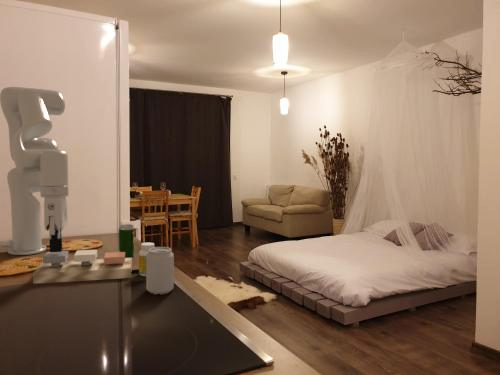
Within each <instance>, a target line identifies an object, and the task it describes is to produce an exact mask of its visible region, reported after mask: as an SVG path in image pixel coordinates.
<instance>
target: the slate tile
mask: <svg viewBox="0 0 500 375" xmlns="http://www.w3.org/2000/svg"><path fill="white" fill-rule="evenodd" d="M68 258H69V250H62V251H61V252H50V251H46V253H44V255H43V256H42V262H43V263H51V267H60V266H61V263H63V262H66V261H68Z"/></svg>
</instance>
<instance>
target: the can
mask: <svg viewBox="0 0 500 375" xmlns="http://www.w3.org/2000/svg"><path fill="white" fill-rule="evenodd" d="M174 255H175V254H174V252H172V248H171V247H167V246H154V248H151V249H149V253H148V254H147V255H146V276H145V277H146V279H145V280H146V285H145V287H146V291H147V292H149V293H150V294H151V293H153V294H152V295H157V294H160V295H165V294H169V293H170V292H172V290H173V289H174V287H175V286H174V282H175V280H174V276H175V275H174V273H175V271H174V265H175V261H174V260H175V259H174V258H175V256H174Z"/></svg>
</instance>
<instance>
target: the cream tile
mask: <svg viewBox="0 0 500 375" xmlns="http://www.w3.org/2000/svg"><path fill="white" fill-rule="evenodd" d="M97 257H98V249H82V250H80V249H79V250H76V251H75V253H74V254H73V260H74V262H81V264H82V265H90V264H91V261H96V259H97Z"/></svg>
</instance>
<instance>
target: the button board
mask: <svg viewBox="0 0 500 375" xmlns="http://www.w3.org/2000/svg"><path fill="white" fill-rule="evenodd" d="M132 268H133V259H132V258H125V263H119V265H111V264H104V258H98V259H97V258H96V261H91V264H90V265H82V264H81V262H74V259H73V260H66V262H63V263H61V266H60V267H51V263H43V261H42V262H41V264H39V266H38V267H37V268H36V269H35V271H34V272H33V273H32V276H33V277H32V278H33V280H32V281H33V282H32V283H33V285H34V284H51V283H70V282H81V281H82V282H83V281H98V280H101V281H102V280H115V279H116V280H117V279H131V278H132V273H133V272H132V270H133V269H132ZM131 272H132V273H131Z"/></svg>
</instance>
